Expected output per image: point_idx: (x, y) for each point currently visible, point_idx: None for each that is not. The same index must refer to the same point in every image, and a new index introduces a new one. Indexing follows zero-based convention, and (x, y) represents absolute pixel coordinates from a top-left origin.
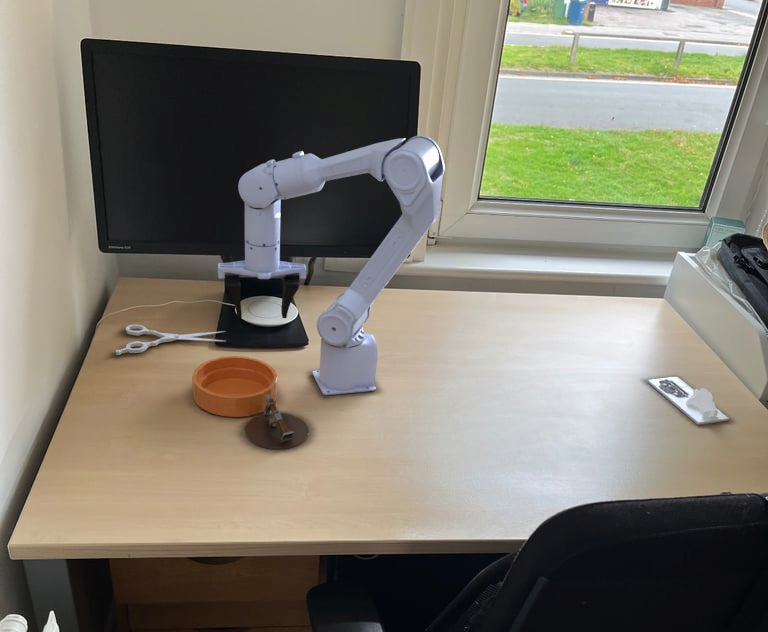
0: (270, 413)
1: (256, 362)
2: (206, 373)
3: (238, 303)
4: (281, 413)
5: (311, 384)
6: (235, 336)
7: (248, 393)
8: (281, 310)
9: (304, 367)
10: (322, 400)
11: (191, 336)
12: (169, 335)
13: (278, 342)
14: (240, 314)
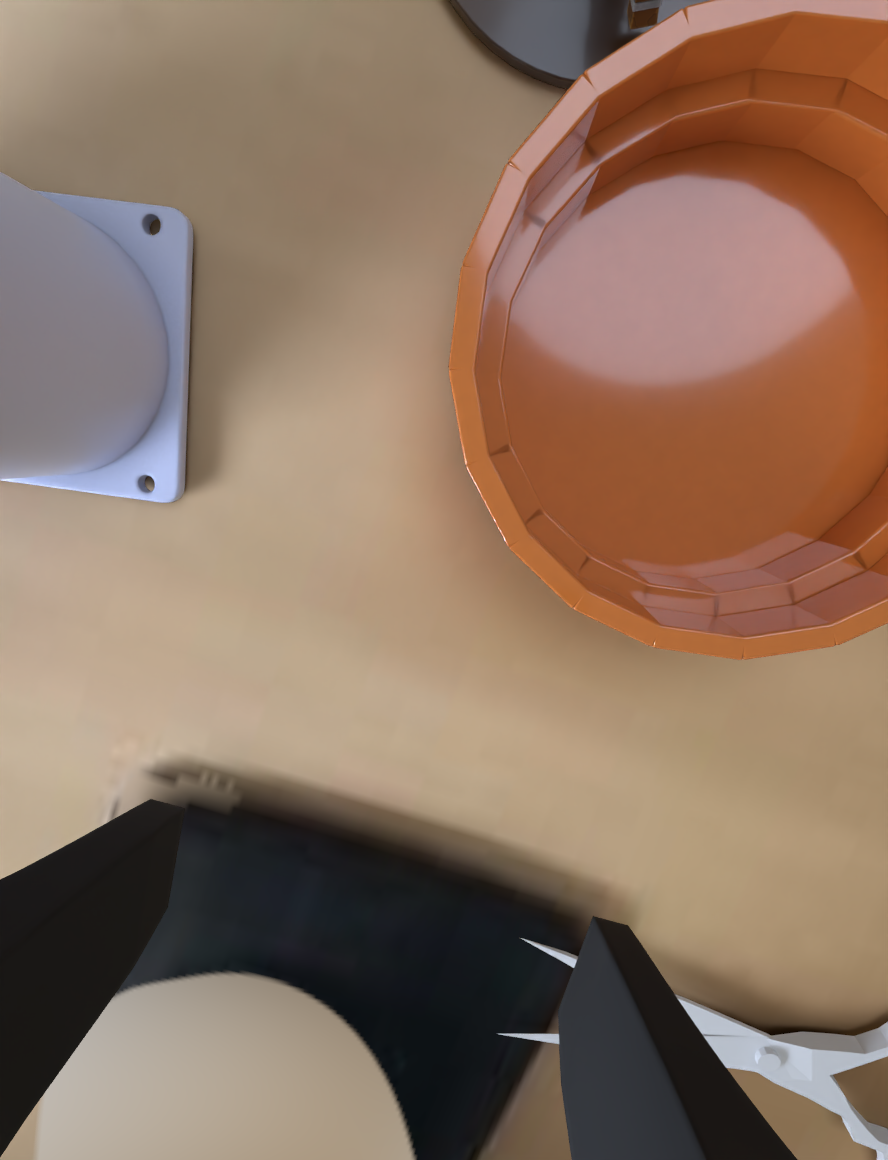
0: None
1: (529, 531)
2: (847, 577)
3: (700, 1092)
4: (521, 51)
5: (225, 385)
6: (460, 986)
7: (626, 367)
8: (152, 929)
9: (207, 582)
10: (216, 175)
11: None
12: (808, 1076)
13: (265, 869)
14: (621, 950)
